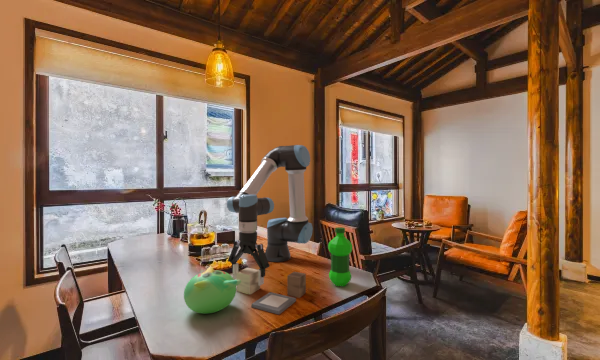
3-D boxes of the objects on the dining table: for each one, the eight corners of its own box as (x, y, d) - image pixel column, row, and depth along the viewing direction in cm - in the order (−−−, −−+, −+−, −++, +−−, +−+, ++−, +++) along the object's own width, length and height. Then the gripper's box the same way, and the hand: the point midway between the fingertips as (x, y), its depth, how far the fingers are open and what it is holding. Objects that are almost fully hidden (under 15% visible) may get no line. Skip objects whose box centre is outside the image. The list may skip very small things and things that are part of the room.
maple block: (247, 285, 126) (247, 267, 126) (260, 288, 123) (260, 270, 122) (236, 291, 120) (236, 272, 120) (249, 294, 116) (249, 275, 116)
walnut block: (294, 290, 121) (294, 271, 120) (305, 292, 118) (305, 273, 118) (287, 295, 116) (287, 275, 116) (299, 298, 113) (299, 277, 113)
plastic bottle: (337, 278, 134) (337, 225, 134) (356, 284, 127) (356, 228, 126) (323, 284, 127) (323, 228, 127) (342, 291, 120) (342, 231, 119)
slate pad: (270, 294, 116) (270, 291, 116) (295, 301, 110) (295, 297, 110) (251, 307, 105) (251, 303, 105) (279, 314, 100) (279, 311, 100)
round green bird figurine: (228, 296, 115) (228, 260, 114) (243, 313, 100) (243, 272, 100) (180, 307, 105) (179, 268, 105) (190, 328, 91) (189, 282, 90)
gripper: (219, 229, 123) (219, 279, 123) (267, 235, 111) (267, 290, 111) (231, 227, 130) (231, 274, 130) (277, 232, 118) (277, 284, 118)
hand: (248, 281), depth 121 cm, fingers open, 13 cm apart
